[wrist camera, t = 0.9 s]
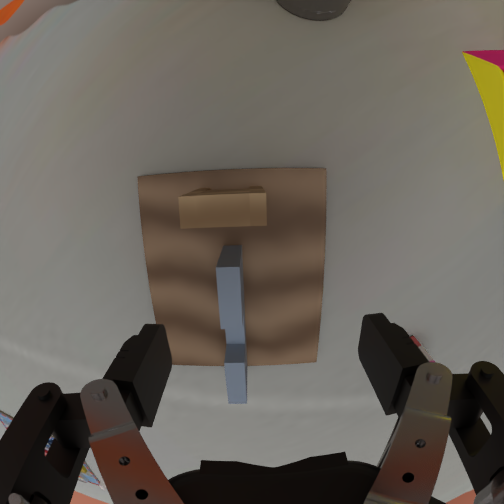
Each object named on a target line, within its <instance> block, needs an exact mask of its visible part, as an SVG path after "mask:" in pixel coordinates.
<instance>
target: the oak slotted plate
mask: <svg viewBox="0 0 504 504" xmlns="http://www.w3.org/2000/svg"><path fill="white" fill-rule="evenodd" d="M178 200H179V215H180V228H181V229H187V228H211V227H240V226H267V210H266V192H265V190H264V189H263V187H262V186H250V189H229V190H211V188H199V189H196V190H194V191H191V192H189V193H186V194H184V195H182V196H179V197H178Z"/></svg>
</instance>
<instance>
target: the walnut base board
mask: <svg viewBox="0 0 504 504" xmlns="http://www.w3.org/2000/svg"><path fill="white" fill-rule="evenodd" d="M250 186H262V187H263V189H264V190H265V192H266V210H267V226H240V227H211V228H187V229H181V228H180V215H179V200H178V197H179V196H182V195H184V194H186V193H189V192H191V191H194V190H196V189H199V188H211V190H229V189H250ZM138 192H139V204H140V216H141V226H142V235H143V243H144V251H145V259H146V266H147V273H148V280H149V286H150V292H151V298H152V304H153V309H154V315H155V320H156V324H163V325H164V326H165V329H166V334H167V338H168V342H169V347H170V351H171V355H172V365H196V366H224V360H225V352H226V332H225V329H221V326H220V314H219V303H218V290H217V277H216V265H217V262H218V259H219V257H220V254H221V251H222V248H223V246H230V245H242V258H243V282H244V305H245V328H246V349H247V366H257V365H281V364H298V363H311V362H316V360H317V351H318V342H319V331H320V320H321V308H322V295H323V279H324V261H325V236H326V169H324V168H258V169H229V170H209V171H194V172H181V173H169V174H158V175H148V176H139V177H138Z"/></svg>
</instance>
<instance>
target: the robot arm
mask: <svg viewBox="0 0 504 504" xmlns="http://www.w3.org/2000/svg"><path fill="white" fill-rule="evenodd" d="M277 1H278V3H279V4H280V5H281V6H282V7H283V8H285V9H286V10H288V11H289V12H291V13H293V14H295V15H297V16H300V17H303V18H306V19H312V20H328V19H332V18H335V17H337V16H339V15H341V14H342V13H343V12H344V11H345V9H346V8H347V6H348V5H349V3H350V2H351V0H277ZM358 354H359V359H360V361H361V363H362V366H363V368H364V370H365V372H366V374H367V376H368V378H369V380H370V382H371V384H372V386H373V388H374V390H375V393H376V395H377V397H378V399H379V401H380V403H381V405H382V408H383V410H384V412H385V414H386V415H390V414H394V413H397V415H398V419H397V422H396V424H395V426H394V429H393V431H392V434H391V436H390V439H389V441H388V443H387V445H386V448H385V450H384V452H383V454H382V456H381V458H380V461H379V462H378V464H377V466H374V465H371V464H368V463H364V462H359V461H347V457H346V453H345V452H341V453H335V454H329V455H322V456H315V457H309V458H306V459H303V460H300V461H297V462H294V463H290V464H287V465H283V466H280V467H274V468H272V467H265V466H259V465H253V464H247V463H242V462H237V461H206V460H201V465H200V469H198V470H193V471H189V472H185V473H182V474H179V475H177V476H175V477H172V478H171V479H169V480H167V478H166V477H165V475H164V473H163V472H162V470H161V469H160V467H159V465H158V464H157V462H156V461H155V459H154V457H153V456H152V454H151V452H150V450H149V449H148V447H147V445H146V443H145V442H144V440H143V438H142V436H141V434H140V432H139V431H140V428H141V426H146V427H152V425H153V422H154V419H155V416H156V413H157V409H158V406H159V403H160V401H161V398H162V395H163V392H164V389H165V386H166V383H167V380H168V377H169V374H170V371H171V368H172V355H171V351H170V347H169V342H168V338H167V334H166V329H165V326H164V325H163V324H145V325H144V326H143V328H142V329H141V331H140V333H139V334H138V335H133V336H132V337H131V338H129V339H128V340H127V341H125V343H124V344H123V346H122V347H121V349H120V351H119V352H118V354H117V356H116V358H115V359H114V360H113V362H112V364H111V365H110V367H109V369H108V370H107V372H106V374H105V375H104V377H103V379H97V380H94V381H91V382H89V383H88V384H86V385H85V386H84V387H83V388H82V390H81V393H70V394H63V393H62V391H61V389H60V387H59V386H58V385H57V384H55V383H43V384H40V385H38V386H36V387H35V388H34V389H33V390H32V391H31V393H30V394H29V395H28V397H27V398H26V400H25V401H24V403H23V404H22V406H21V408H20V409H19V411H18V412H17V414H16V415H15V417H14V418H13V420H12V422H11V423H10V425H9V426H8V428H7V430H6V431H5V433H4V435H3V436H2V438H1V440H0V504H70V502H71V498H72V495H73V492H74V489H75V486H76V483H77V481H78V478H79V475H80V472H81V469H82V466H83V464H84V461H85V458H86V456H87V453H88V450H89V448H91V449H92V452H93V454H94V457H95V460H96V463H97V465H98V468H99V471H100V473H101V476H102V478H103V481H104V483H105V485H106V488H107V490H108V492H109V494H110V497H111V499H112V501H113V503H114V504H446V503H444V502H442V501H440V500H438V499H436V498H434V497H432V496H431V495H432V492H433V490H434V486H435V483H436V480H437V477H438V474H439V470H440V467H441V463H442V459H443V455H444V451H445V447H446V443H447V438H448V434H449V435H450V437H451V439H452V441H453V443H454V446H455V448H456V450H457V452H458V454H459V456H460V458H461V461H462V463H463V465H464V467H465V469H466V472H467V474H468V476H469V479H470V481H471V483H472V486H473V488H474V491H475V493H476V497H475V500H474V504H504V374H503V373H502V372H501V371H500V369H499V368H498V367H497V366H496V365H494V364H492V363H490V362H486V361H479V362H476V363H474V364H473V365H472V367H471V369H470V372H469V374H452V373H451V371H450V370H449V369H448V368H447V367H446V366H444V365H443V364H440V363H436V362H429V361H428V359H427V358H426V357H425V355H424V354H423V353H422V351H421V350H420V349H419V348H418V346H417V345H416V344H414V341H413V340H412V339H411V337H409V335H408V334H407V332H406V331H405V330H404V329H403V328H402V327H400V326H398V325H397V324H395V323H390V322H389V320H388V319H387V318H386V316H385V315H384V314H383V313H376V314H368V315H364V317H363V321H362V327H361V334H360V340H359V346H358ZM483 412H484V413H485V415H486V417H487V418H488V420H489V421H490V423H491V425H492V434H491V435H490V433H489V431H488V430H487V428H486V426H485V424H484V423H483V421H482V420H481V418H480V416H481V415H482V413H483ZM51 435H53V436H54V439H53V442H52V444H51V446H50V448H49V450H48V452H47V454H46V456H45V447H46V445H47V443H48V441H49V439H50V437H51Z"/></svg>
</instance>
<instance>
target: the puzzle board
mask: <svg viewBox="0 0 504 504" xmlns="http://www.w3.org/2000/svg"><path fill="white" fill-rule="evenodd" d="M0 420H1V422H2V423H3V425H4V426H5V427H6V429H7V428H8V426H9V425H10V423H11V422H12V420H13V417H11V416H10V415H8V414H6V413H4V412H2V411H0ZM53 439H54V436H52V435H51V437H50V439H49V441H48V443H47V445H46V447H45V456H46V454H47V452H48V450H49V448H50V446H51V444H52V442H53ZM78 480H80V481H82V482H85V483H87V482H90V483H93V484H96V485H99V484H100V481H99V480H98V479H97V477H96V476H95V475H94V473H93V472H92V471H91V469H90V468H89V466H88V465H87V463H86V462H85V461H84V464H83V466H82V469H81V472H80V475H79V478H78Z"/></svg>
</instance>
